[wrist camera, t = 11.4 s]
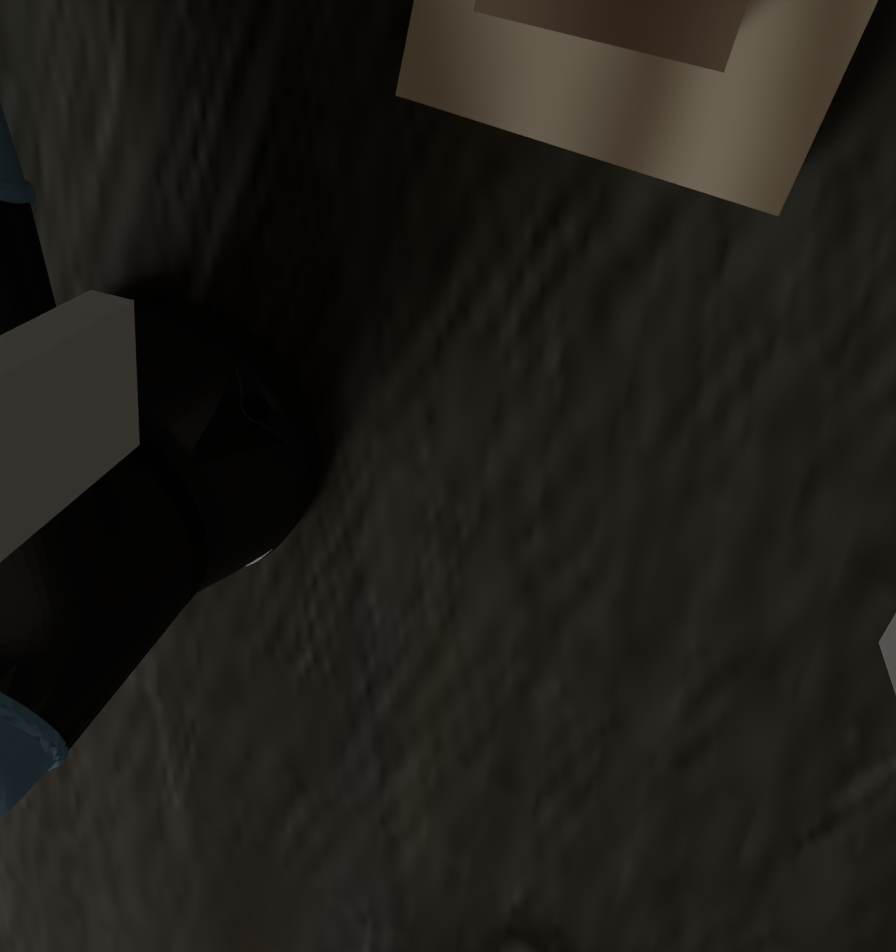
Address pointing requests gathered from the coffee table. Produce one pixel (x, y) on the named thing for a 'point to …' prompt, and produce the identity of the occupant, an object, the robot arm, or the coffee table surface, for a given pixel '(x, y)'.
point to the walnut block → (637, 24)
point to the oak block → (646, 91)
